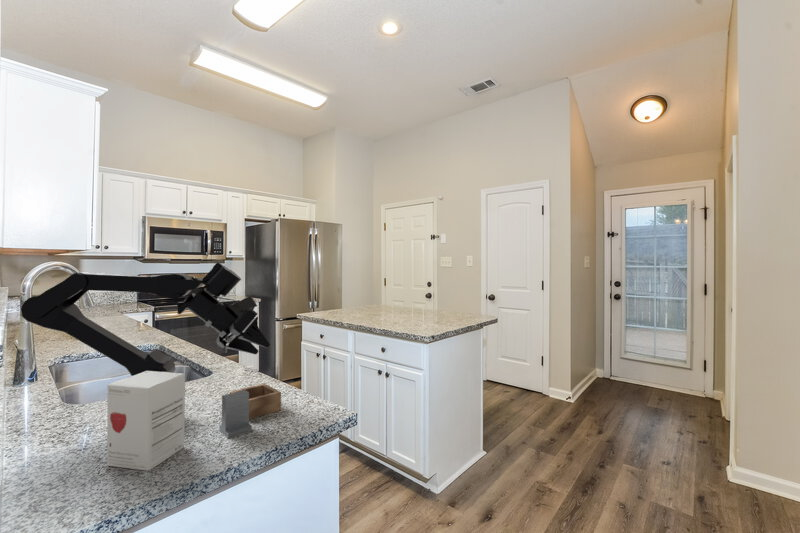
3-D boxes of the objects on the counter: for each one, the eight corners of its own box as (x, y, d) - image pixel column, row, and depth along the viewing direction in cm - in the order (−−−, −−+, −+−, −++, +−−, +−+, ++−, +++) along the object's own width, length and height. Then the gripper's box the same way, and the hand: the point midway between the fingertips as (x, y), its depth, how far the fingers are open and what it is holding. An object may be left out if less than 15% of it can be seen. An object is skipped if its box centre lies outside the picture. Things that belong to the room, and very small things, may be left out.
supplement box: (104, 466, 66) (104, 384, 66) (146, 442, 75) (146, 369, 75) (148, 472, 65) (148, 387, 65) (186, 447, 74) (186, 372, 73)
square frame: (244, 421, 86) (244, 401, 86) (229, 409, 92) (229, 391, 92) (280, 410, 92) (280, 392, 92) (264, 400, 98) (264, 383, 98)
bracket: (228, 438, 77) (228, 399, 77) (219, 431, 81) (219, 393, 81) (251, 431, 81) (251, 393, 81) (242, 423, 84) (242, 388, 84)
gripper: (244, 275, 88) (295, 316, 92) (225, 298, 102) (270, 333, 106) (210, 310, 81) (267, 352, 85) (195, 329, 95) (244, 365, 99)
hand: (262, 349), depth 94 cm, fingers open, 9 cm apart
